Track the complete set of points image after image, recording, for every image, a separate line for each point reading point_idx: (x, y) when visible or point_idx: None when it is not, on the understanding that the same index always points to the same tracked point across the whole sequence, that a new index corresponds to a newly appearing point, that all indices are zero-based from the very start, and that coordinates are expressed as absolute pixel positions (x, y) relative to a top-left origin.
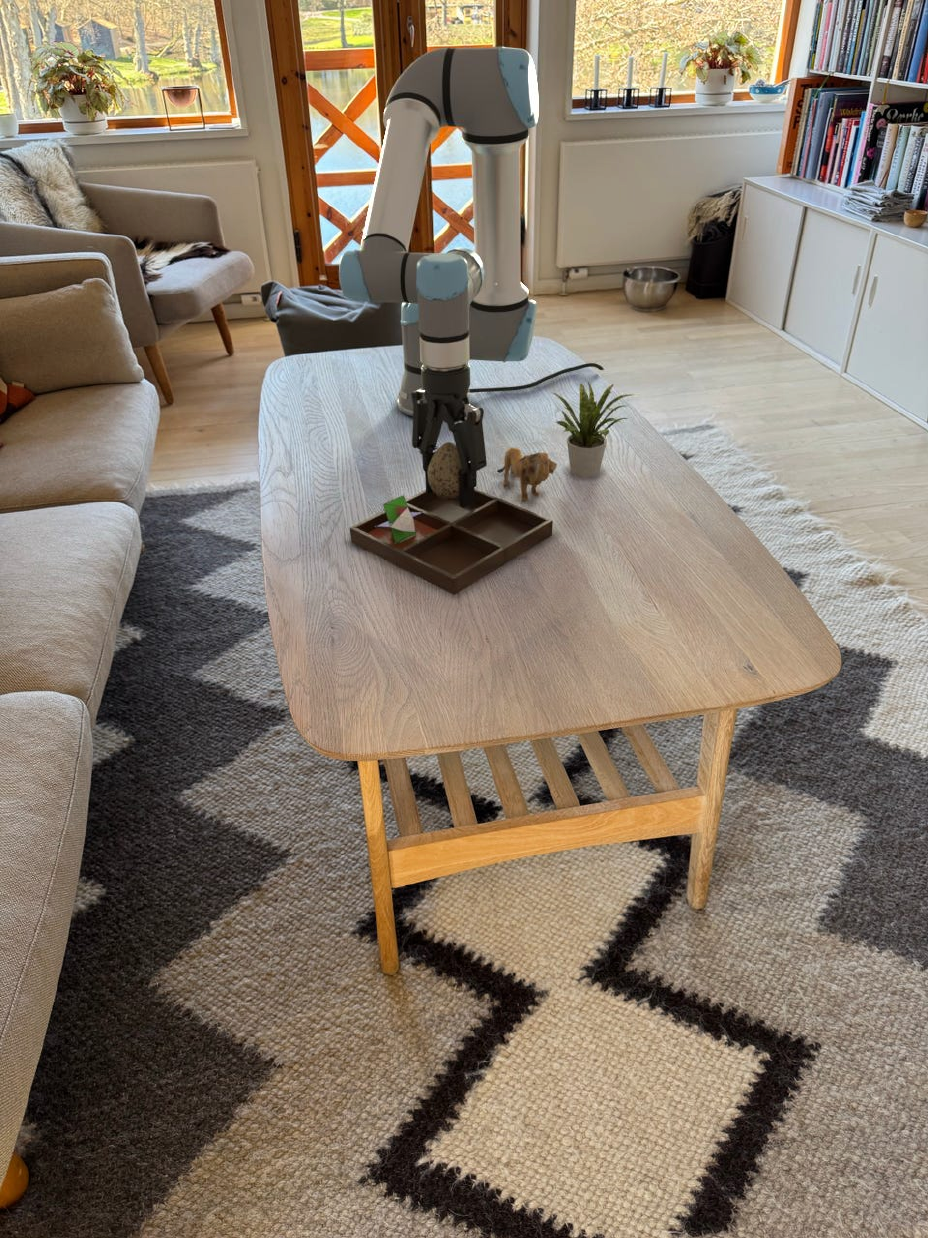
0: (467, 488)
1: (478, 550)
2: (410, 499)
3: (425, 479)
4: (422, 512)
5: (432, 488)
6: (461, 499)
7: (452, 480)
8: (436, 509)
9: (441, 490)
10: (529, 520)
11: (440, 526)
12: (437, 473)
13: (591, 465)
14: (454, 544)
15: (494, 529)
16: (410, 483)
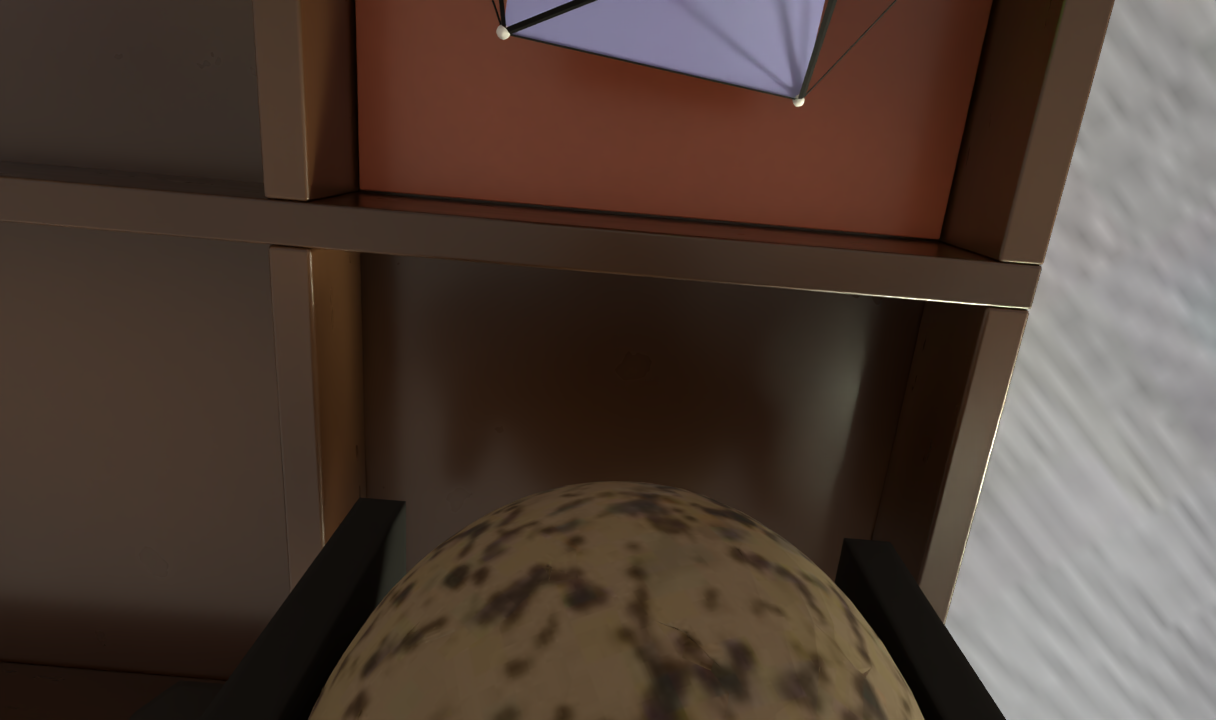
0: (220, 685)
1: None
2: (974, 377)
3: (953, 640)
4: (511, 28)
5: (706, 500)
6: (347, 548)
7: (336, 686)
8: (745, 477)
9: (534, 502)
10: (10, 692)
11: (442, 204)
12: (577, 685)
13: None
14: (212, 101)
15: (166, 488)
16: (1190, 685)
